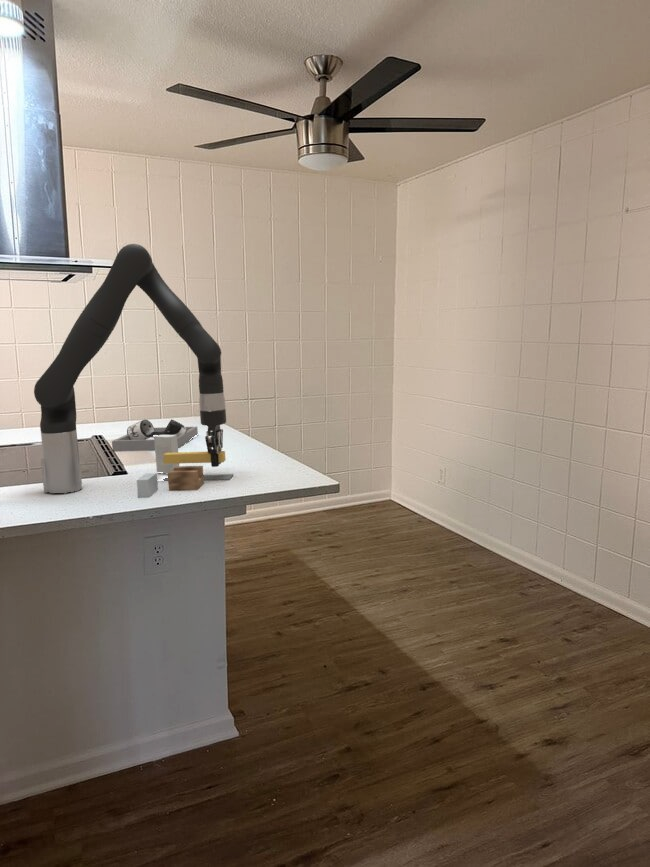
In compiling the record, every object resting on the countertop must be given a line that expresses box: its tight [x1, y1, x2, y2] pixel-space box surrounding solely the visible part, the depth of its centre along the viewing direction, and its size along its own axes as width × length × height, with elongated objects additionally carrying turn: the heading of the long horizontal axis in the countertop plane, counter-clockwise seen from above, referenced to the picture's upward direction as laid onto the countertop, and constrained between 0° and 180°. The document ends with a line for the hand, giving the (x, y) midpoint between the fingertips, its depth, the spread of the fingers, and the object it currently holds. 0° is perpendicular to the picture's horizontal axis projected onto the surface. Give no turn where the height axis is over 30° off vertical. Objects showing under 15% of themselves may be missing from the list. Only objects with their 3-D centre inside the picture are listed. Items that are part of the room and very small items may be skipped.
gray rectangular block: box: [136, 472, 159, 499], centre depth 164 cm, size 3×8×5 cm, turn 178°
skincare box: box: [153, 435, 180, 473], centre depth 188 cm, size 6×4×12 cm
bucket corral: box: [111, 426, 199, 452], centre depth 245 cm, size 25×33×4 cm
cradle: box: [167, 465, 205, 492], centre depth 170 cm, size 8×8×5 cm
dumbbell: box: [126, 419, 187, 440], centre depth 244 cm, size 25×10×10 cm, turn 85°
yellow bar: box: [163, 450, 226, 465], centre depth 179 cm, size 18×3×3 cm, turn 88°
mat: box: [163, 473, 234, 482], centre depth 180 cm, size 22×6×1 cm, turn 88°
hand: (216, 464), depth 179 cm, fingers closed on yellow bar, 3 cm apart
